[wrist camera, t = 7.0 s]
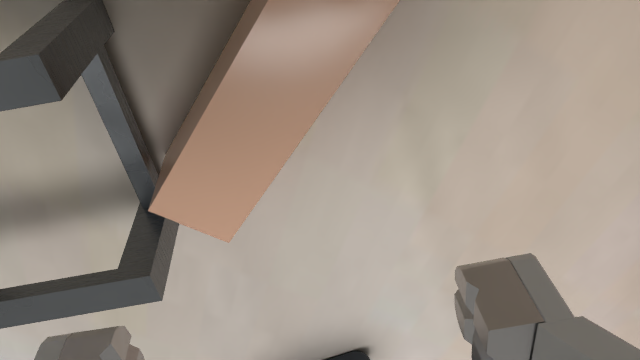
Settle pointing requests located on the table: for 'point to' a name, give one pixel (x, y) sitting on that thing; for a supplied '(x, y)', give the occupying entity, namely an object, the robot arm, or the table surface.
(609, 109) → the table surface
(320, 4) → the salmon orange rectangular block
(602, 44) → the table surface
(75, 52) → the grey metal frame stand
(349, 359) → the black smartphone
